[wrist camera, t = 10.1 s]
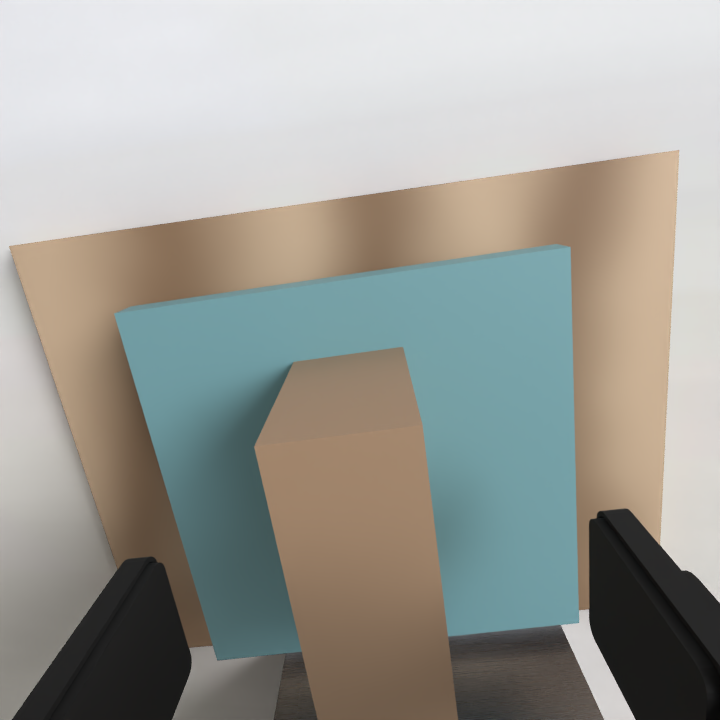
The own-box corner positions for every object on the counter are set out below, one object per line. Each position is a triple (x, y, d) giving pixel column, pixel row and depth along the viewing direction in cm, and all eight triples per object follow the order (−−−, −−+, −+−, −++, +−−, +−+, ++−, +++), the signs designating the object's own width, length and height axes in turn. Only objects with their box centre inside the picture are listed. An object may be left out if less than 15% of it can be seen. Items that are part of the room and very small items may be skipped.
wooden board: (663, 152, 15) (679, 150, 14) (645, 587, 20) (657, 602, 19) (26, 244, 16) (8, 246, 15) (153, 635, 21) (145, 651, 20)
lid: (538, 240, 15) (693, 273, 8) (551, 568, 19) (667, 798, 11) (152, 296, 16) (-28, 375, 9) (236, 603, 19) (158, 841, 12)
